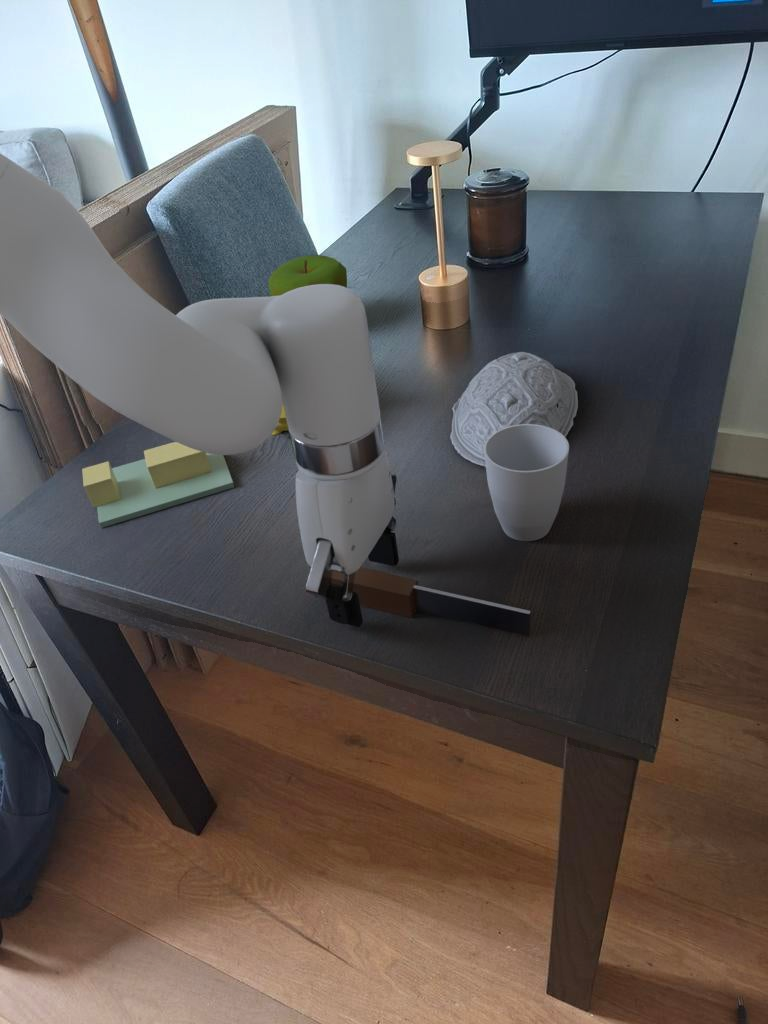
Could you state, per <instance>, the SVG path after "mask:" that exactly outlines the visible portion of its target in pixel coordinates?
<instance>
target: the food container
mask: <svg viewBox="0 0 768 1024" xmlns="http://www.w3.org/2000/svg"><path fill="white" fill-rule="evenodd" d="M578 397H579V396H578V391H577V389H576V383H575V381H574V379H572V377H570V376H569V375H568V374H567V373H565V372H563V371H561V370H560V369H557V368H555V366H554V365H553V364H551V362H549V361H548V360H546V359H543V358H542V357H540V356H538V355H536V354H533V353H530V352H525V351H519V352H511V353H508V354H505V355H502V356H499V357H498V358H496V359H494V360H491V361H490V362H488V363H486V365H485V366H483V367H482V369H480V371H479V372H477V374H475V376H473V378H471V380H470V381H469V383H468V386H467V387H466V389H465V391H463V392H462V394H461V396H460V397H459V398H458V400H457V401H456V402H455V403H454V404H453V406H452V407H451V409H452V412H453V417H452V420H451V422H452V423H451V432H450V436H449V438H450V440H451V444H452V445H453V447H454V449H455V450H456V451H457V453H458V454H459V455H460V456H462V458H464V459H465V460H468V461H470V462H471V463H473V464H476V465H478V466H481V467H483V468H486V464H485V456H484V444H485V442H486V440H487V439H488V438H489V437H490V436H491V435H492V434H493V433H495V432H497V431H498V430H501V429H503V428H506V427H509V426H513V425H520V424H536V425H542V426H546V427H549V428H552V429H554V430H556V431H558V432H560V433H561V434H562V435H563V436H564V437H565V438H567V435H568V434H569V432H570V430H572V429H571V428H572V427H573V426H574V418H575V417H576V416H577V411H578V408H579V400H578V399H579V398H578Z"/></svg>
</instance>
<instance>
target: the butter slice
mask: <svg viewBox="0 0 768 1024" xmlns="http://www.w3.org/2000/svg"><path fill="white" fill-rule="evenodd" d="M112 468H113V467H112V465H111V463H110V461H109V460H107V461H104V462H101V463H97V464H94V465H90V466H87V467H83V468H82V470H81V473H82V483H83V488H84V490H85V493H86V495H87V497H88V499H89V501H90V504H91V506H92V507H93V508H97V506H100V505H103V504H107V503H110V502H113V501H117V500H120V495H119V488H118V482H117V480H116V477H115V475H114V472H113V470H112Z"/></svg>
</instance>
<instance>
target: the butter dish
mask: <svg viewBox="0 0 768 1024" xmlns="http://www.w3.org/2000/svg"><path fill="white" fill-rule="evenodd" d="M206 455H207V458H208V461H209V464H210V467H211V472H209V473H205V474H202V475H199V476H195V477H192V478H189V479H185V480H182V481H179V482H175V483H172V484H169V485H165V486H162V487H159V488H155V487H154V484H153V481H152V479H151V476H150V474H149V471H148V469H147V464H146V460H145V458H143V459H139V460H135V461H132V462H129V463H126V464H122V465H119V466H115V467H111V468H112V470H113V472H114V475H115V477H116V480H117V482H118V488H119V495H120V500H117V501H113V502H110V503H107V504H103V505H100V506H97V507H96V511H97V518H98V519H97V520H98V524H99V527H100V528H101V529H103V528H106V527H109V526H113V525H116V524H119V523H123V522H127V521H129V520H132V519H135V518H139V517H142V516H145V515H149V514H152V513H156V512H158V511H161V510H165V509H169V508H171V507H175V506H178V505H182V504H184V503H188V502H191V501H195V500H198V499H200V498H205V497H208V496H210V495H214V494H217V493H220V492H224V491H227V490H230V489H233V488H235V483H234V480H233V478H232V475H231V472H230V469H229V466H228V464H227V461H226V459H225V455H217V454H210V453H206Z"/></svg>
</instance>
